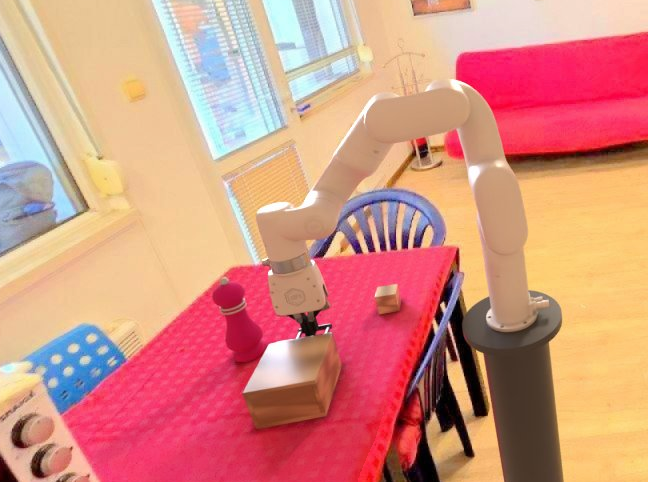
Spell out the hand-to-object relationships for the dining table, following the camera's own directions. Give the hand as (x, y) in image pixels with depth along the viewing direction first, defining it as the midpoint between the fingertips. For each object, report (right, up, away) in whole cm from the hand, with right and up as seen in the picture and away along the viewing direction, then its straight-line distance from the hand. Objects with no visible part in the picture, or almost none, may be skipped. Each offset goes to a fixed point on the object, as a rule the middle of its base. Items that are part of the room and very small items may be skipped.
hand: (311, 334), depth 115 cm
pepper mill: (-16, -6, +4) cm, 17 cm away
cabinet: (+3, -10, -10) cm, 15 cm away
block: (+12, +2, +17) cm, 21 cm away
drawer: (+2, -7, -5) cm, 9 cm away
